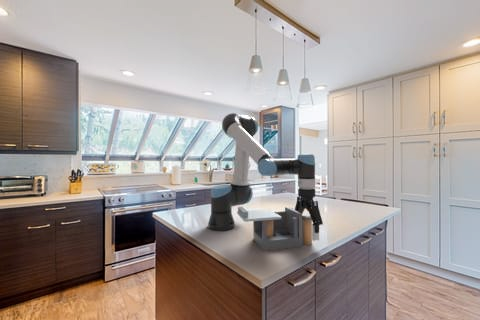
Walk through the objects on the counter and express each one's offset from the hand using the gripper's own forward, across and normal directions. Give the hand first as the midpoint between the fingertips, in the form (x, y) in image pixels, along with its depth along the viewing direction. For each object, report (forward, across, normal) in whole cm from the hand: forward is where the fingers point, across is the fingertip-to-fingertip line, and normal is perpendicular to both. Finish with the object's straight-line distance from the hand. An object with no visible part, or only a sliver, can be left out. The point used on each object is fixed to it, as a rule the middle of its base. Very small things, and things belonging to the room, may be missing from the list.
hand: (307, 234), depth 99 cm
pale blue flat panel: (-9, -4, -22) cm, 24 cm away
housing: (+4, -4, -13) cm, 14 cm away
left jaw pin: (+4, -4, -17) cm, 18 cm away
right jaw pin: (+4, 0, 0) cm, 4 cm away
